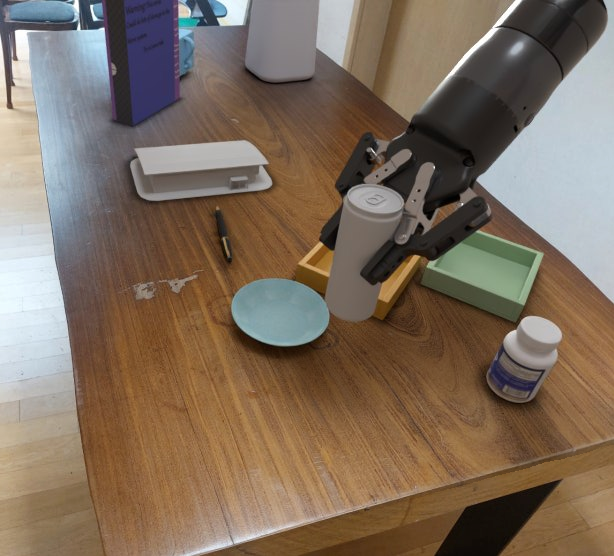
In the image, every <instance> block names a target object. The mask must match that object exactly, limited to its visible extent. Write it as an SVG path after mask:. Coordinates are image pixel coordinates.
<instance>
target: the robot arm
mask: <svg viewBox="0 0 614 556" xmlns="http://www.w3.org/2000/svg"><path fill="white" fill-rule="evenodd" d="M608 13H609V12H608V8H607V5H606V3H605V0H514V1H513V3H512V4H511V5H510V6H509V7H508V9H506V11H504V13H503V15H502V16H501V17H500V18H499V19H498V20H497V22H496V23H495V24H494V25H493V26H492V27H491V29H489V31H488V32H487V33H486V34H484V36H483V37H482V38H481V39H480V40H479V41H477V42H476V44H474V45H473V46H472V47H471V48H470V49H469V50H468V51H467V52H466V53H465V54H464V56H462V58H461V59H460V60H459V61H458V63H456V65H455V66H454V67H453V68H452V69H451V70H450V71H449V73H448V74H447V75H446V76H445V78H443V80H442V81H441V82H440V84H438V86H437V87H436V88H435V90H434V91H433V92H432V93H431V94H430V95H429V96H428V98H427V99H426V100H425V101H424V103H423V104H422V105H421V106H420V107H419V108H418V109H417V110H416V112H415V113H414V114H412V115H413V116H412V117H411V119H410V122H409V124H408V126H407V128H406V130H405V131H404V132H403V133H402V134H400V135H398V136H396V137H394V138H393V139H391V141H388V140H383V139H379V138H377V137H376V136H375V135H374V134H373V132H372V131H366V132H364V133H363V134H362V135H361V136H360V138H359V140H358V142H357V144H356V145H355V147H354V149H353V150H352V152H351V154H350V156H349V158H348V160H347V162H346V163H345V165H344V167H343V168H342V171H341V172H340V174H339V176H338V177H337V178H336V179H337V180H336V181H335V182H334V189H335V190H337V192H338V194H339V196H340V198H341V204H340V206H339V207H338V209H337V210H336V211H335V212H334V213H333V214H332V216H331V217H330V218H329V219H328V221H326V223H325V224H324V225H323V226H322V227H321V230H320V232H319V233H320V236H319V237H318V242H321V243H322V244H324V245H325V246H326V247H327V248H328V249H330V250H331V251H334V250H335V245H336V240H337V235H338V230H339V225H340V220H341V215H342V210H343V205H344V200H345V199H346V197H347V193H348V191H349V190H350V189H351V188H352V187H354V186H357V185H362V184H375V185H380V186H384V187H387V188H390V189H392V190H394V191H395V192H397V193H398V194H399V195H400V196H401V197H402V198H403V200H404V206H403V208H404V209H403V216H402V219H401V223H400V225H399V227H398V230H397V232H396V234H395V237H394V240H393V242H392V241H391V240H389V239H388V241H387V242H386V243H385V244H384V245H383V246H382V247H381V248H380V250H379V251H378V252H377V253H376V254H375V255H374V256H373V257H372V259H371V260H370V261H369V262H368V263H367V264H366V265H365V267H364V268H363V269H362V270H361V272H360V276H361V277H362V278H364V279H365V280H366V281H367V282H368V283H370V284H371V285H372V286H374V285H376V284H377V283H378V282H380V283H383V282H385V281H387V280H388V279H389V277H390V276H391V275H392V274H393V273H394V272H395V271H396V270H397V268H398V267H399V266H400V265H401V264H402V263H403V262H404V261H405V259H406V258H408V257H409V256H411V255H418V256H421V257H422V258H425V259H426V260H427V261H429V262H430V261H435V260H437V259H438V258H440V257H441V256H442V255H444V254H445V253H447V252H448V251H449V250H451V249H452V248H454V247H455V246H456V245H458V244H459V243H461V242H462V241H463V240H465V239H466V238H468V237H469V236H470V235H472V234H473V233H475V232H476V231H477V230H479V231H480V229H482V228H483V227H484V226H486V225H487V224H489V223H490V222H492V220H493V217H494V215H493V212H492V209H491V208H490V205H489V204H488V202H487V200H486V199H485V198H484V197H483V196H478V194H477V193H476V192H475V191H474V188H475V185H476V181H477V180H478V179H479V177H481V176H482V175H484V174H485V173H486V172H487V171H489V169H490V168H491V167H492V166H493V165H494V163H495V162H496V161H498V159H499V158H500V157H501V155H502V154H503V153H504V152H505V151H506V150H507V149H508V148H509V147H510V145H511V144H512V143H513V142H514V141H515V140H516V139H517V138H518V136H520V134H521V133H522V132H523V131H524V130H525V128H527V127H529V126H530V125H531V124H532V123H533V121H534V119H535V117H536V116H537V115H538V114H539V113H540V112H541V110H542V109H543V108H544V106H545V105H546V104H547V102H548V101H549V99H550V98H551V96H552V95H553V93H554V92H555V91H556V89H557V88H558V87H559V85H561V84H562V82H563V81H564V80H565V79H566V78H567V76H568V75H569V74H570V73H571V72H572V71H573V70H574V69H575V68H576V66H577V65H578V64H579V63H580V62H581V61H582V60H583V58H584V57H585V56H586V55H587V54H588V53H589V52H590V51H591V50H592V49H593V47H595V45H596V44H597V43H598V41H599V40H600V39H601V37H602V36H603V34H604V33H605V31H606V29H607V26H608V23H609V14H608ZM383 159H384V163H383V165H381V164H382V160H383ZM380 165H381V166H380ZM376 166H379V167H378V168H377V169H375V168H376ZM374 169H375V170H374ZM455 203H457V204H456V205H455V206H454V209H453V212H452V213H451V214H449V215H447V216H446V217H445V218H443V219H442V220H441V221H439V222H438V223H436V225H434V226H433V224H434V222H435V219H436V217H437V215H438V212H439V210H440V209H441V208H443V207H446V206H450V205H452V204H455Z"/></svg>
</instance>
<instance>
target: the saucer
mask: <svg viewBox="0 0 614 556" xmlns="http://www.w3.org/2000/svg"><path fill="white" fill-rule="evenodd" d="M230 309H231V310H230V311H231V315H232V319H233V320H234V322H235V324H236V325H237V327H238V328H239V329H240V330H241V331H242V332H244V333H245V334H246V335H248V336H249V337H251V338H252V339H254V340H256V341H258V342H261V343H264V344H265V345H266V344H267V345H270V346H274V347H296V346H301V345H305V344H308V343H310V342H313V341H314V340H316V339H318V338H319V337H321V335H322V334H324V332H325V331H326V330H327V328H328V326H329V323H330V310H329V309H328V308H327V306H326V303H325V299H323V297H322V296H321V295H320V294H319V292H318V291H316V290H313V289H311V288H309V287H307V286H305V285H303V284H301V283H298V282H296V281H295V280H292V279H287V278H277V277H275V278H264V279H258V280H255V281H251V282H250V283H247V284H245V285H244V286H242V287H241V288H239V290H238V291H236V292H235V294H234V296H233V298H232V301H231V305H230Z"/></svg>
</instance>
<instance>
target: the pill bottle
mask: <svg viewBox="0 0 614 556" xmlns="http://www.w3.org/2000/svg"><path fill="white" fill-rule="evenodd" d="M562 339H563V334H562V331H561V329H560V328H559V326H557V325H556V323H554V322H553V321H551V320H549V319H547V318H544V317H541V316H538V315H537V316H536V315H535V316H534V315H528V316H526V317H524V318H522V319H521V321H520V323H519V324H518V326H517V327H516V329H514V330H511V331H510V332H509V333H506V335H505V337H504V339H503V341H502V343H501V345H500V346H499V349H498V350H497V352H496V355H494V359H493V360H492V363H491V364H490V366H489V368H488V370H487V372H486V381H487V384H488V386H489V388H490V389H491V390H492V392H494V393H495V395H497V396H498V397H500V398H501V399H504V400H506V401H509V402H510V403H516V404H517V403H519V404H523V403H528V402H530V401H532V400H533V399H534V398H535V397H536V395H537V394H538V392H539V391H540V389H541V387H542V386H543V385H544V382H545V381H546V379H547V378H548V376H549V374H550V373H551V371H552V370H553V368H554V367H555V365H556V363H557V361H558V358H559V354H558V353H559V352H558V349H557V348H558V346H559V344H560V343H561V341H562Z"/></svg>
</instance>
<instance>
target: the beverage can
mask: <svg viewBox="0 0 614 556" xmlns="http://www.w3.org/2000/svg"><path fill="white" fill-rule="evenodd" d="M404 206H405V203H404V200H403V198H402V197H401V196H400V195H399V194H398V193H397V192H395V191H394V190H392V189H390V188H387V187H384V186H383V185H375V184H362V185H357V186H354V187H352V188H351V189H350V190H349V191H348V193H347V197H346V199H345V200H344V205H343V210H342V215H341V220H340V225H339V230H338V235H337V240H336V245H335V250H334V255H333V260H332V265H331V270H330V275H329V280H328V285H327V290H326V295H325V294H324V295H325V296H324V301H325V303H326V306H327V308H328V310H329V313H331V315H333V316H334V317H336V318H338V319H339V320H342V321H345V322H350V323H358V322H363V321H365V320H368V319H369V318H371V317H373V316H372V314H373V313H374V311H375V308H376V304H377V300H378V297H379V293H380V290H381V286H382V283H380V282H378V283H377V284H376V285H374V286H372V285H371V284H370V283H368V282H367V281H366V280H365V279H364V278H362V277H361V276H360V272H361V270H362V269H363V268H364V267H365V265H366V264H367V263H368V262H369V261H370V260H371V259H372V257H373V256H374V255H375V254H376V253H377V252H378V251H379V250H380V248H381V247H382V246H383V245H384V244H385V243H386V242H387V241H388V239H389V240H391V241H392V242H393V240H394V237H395V234H396V232H397V230H398V227H399V225H400V223H401V221H402V218H403V208H404Z"/></svg>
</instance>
